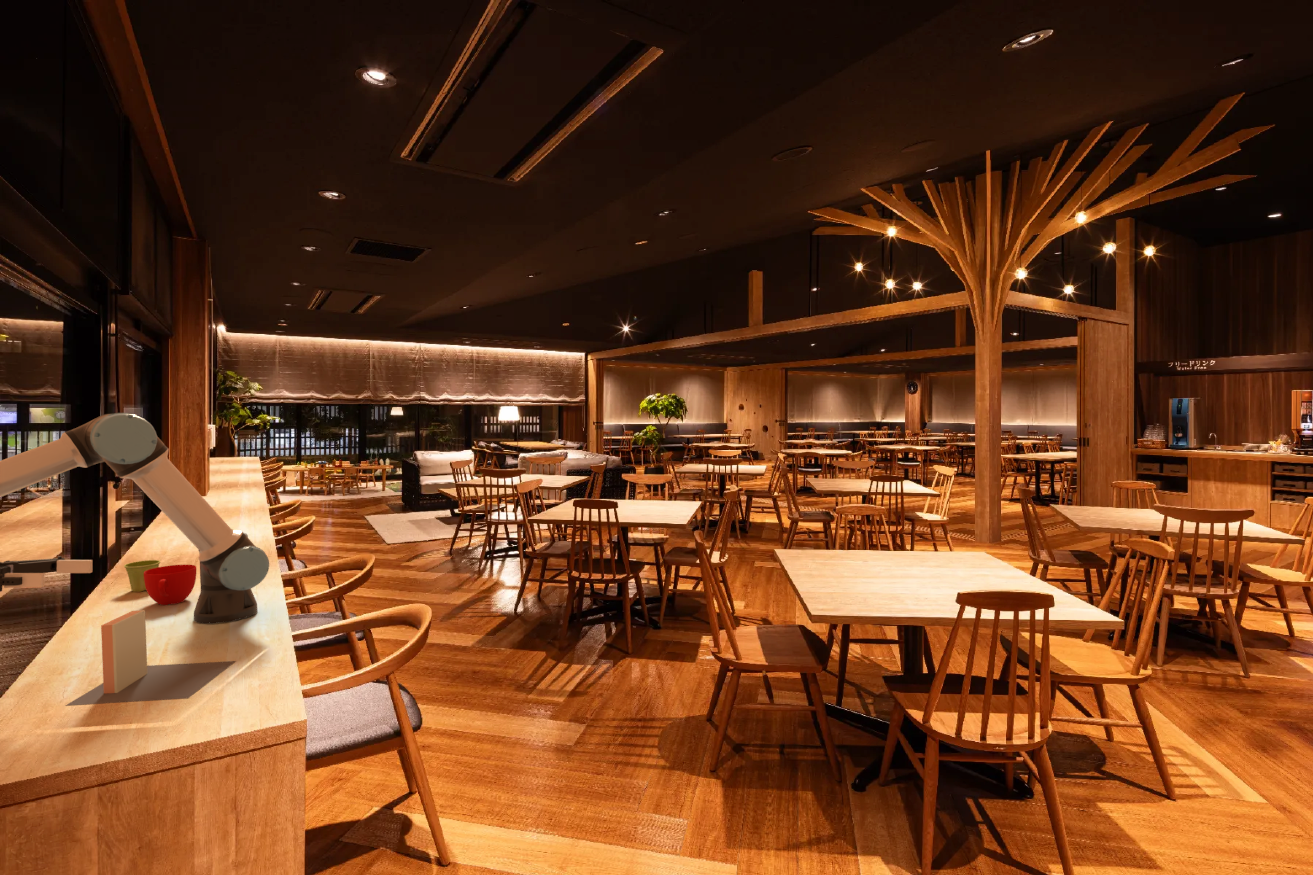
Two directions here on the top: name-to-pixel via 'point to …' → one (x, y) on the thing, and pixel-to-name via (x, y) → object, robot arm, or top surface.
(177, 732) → the top surface
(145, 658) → the tile
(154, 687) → the mat
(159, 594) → the ceramic cup
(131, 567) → the plant pot
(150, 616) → the top surface
